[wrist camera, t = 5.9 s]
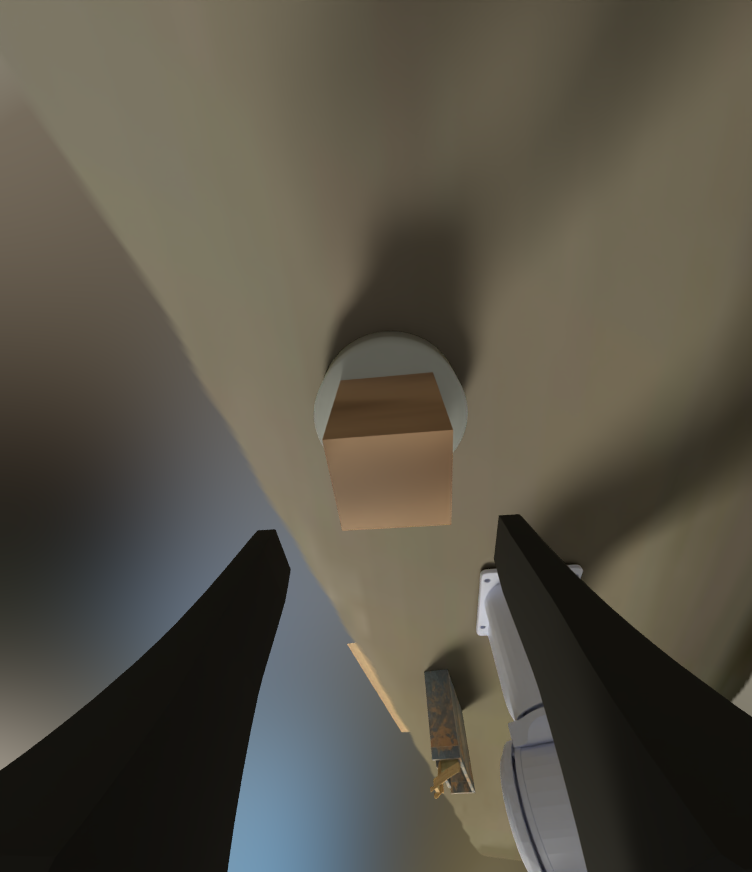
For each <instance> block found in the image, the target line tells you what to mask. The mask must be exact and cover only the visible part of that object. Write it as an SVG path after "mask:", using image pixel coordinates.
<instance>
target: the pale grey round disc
mask: <svg viewBox="0 0 752 872" xmlns="http://www.w3.org/2000/svg"><path fill="white" fill-rule="evenodd" d="M429 372H433V374H434V377H435V379H436V382H437V385H438V388H439V391H440V394H441V396H442V399H443V402H444V405H445V408H446V411H447V414H448V416H449V419H450V422H451V425H452V428H453V452H454V451H455V449H456V448H457V446H458V445H459V443H460V441H461V439H462V437H463V434H464V432H465V428H466V424H467V416H468V410H467V401H466V396H465V394H464V391H463V388H462V386H461V384H460V382H459V380H458V378H457V376H456V374H455V372H454V370H453V369H452V367H451V365H450V363H449V361H448V360H447V359H446V357H445V356H444V355H443V353H442V352H441V351H440V350H439V349H438V348H436V347H435V346H434V345H432V344H431V343H430V342H428V341H426V340H424V339H423V338H421V337H418V336H415V335H413V334H409V333H405V332H397V331H383V332H377V333H372V334H369V335H366V336H363V337H361V338H359V339H357V340H355V341H353V342H352V343H350V344H349V345H347V346H346V347H345V348H344V349H342V350H341V351H340V352H339V353H338V355H337V356H336V357H335V358H334V359H333V361H332V363H331V364H330V366H329V368H328V370H327V372H326V374H325V377H324V379H323V382H322V384H321V386H320V389H319V391H318V393H317V397H316V400H315V406H314V422H315V428H316V431H317V434H318V437H319V439H320V441H321V443H322V445H323V441H322V439H323V435H324V432H325V429H326V426H327V422H328V419H329V416H330V413H331V409H332V406H333V403H334V400H335V396H336V393H337V390H338V387H339V383H340V380H352V379H363V378H374V377H385V376H396V375H407V374H418V373H429ZM323 447H324V446H323Z"/></svg>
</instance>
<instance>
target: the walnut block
mask: <svg viewBox="0 0 752 872" xmlns="http://www.w3.org/2000/svg"><path fill="white" fill-rule="evenodd" d="M322 441H323V446H324V450H325V455H326V459H327V464H328V468H329V473H330V477H331V482H332V486H333V491H334V495H335V500H336V504H337V509H338V513H339V518H340V522H341V527H342V531H345V530H363V529H382V528H400V527H418V526H436V525H451V509H452V463H453V428H452V425H451V422H450V419H449V416H448V414H447V411H446V408H445V405H444V402H443V399H442V396H441V394H440V391H439V388H438V385H437V382H436V379H435V377H434V374H433V372H429V373H418V374H407V375H396V376H385V377H374V378H363V379H352V380H340V383H339V387H338V390H337V393H336V396H335V400H334V403H333V406H332V409H331V413H330V416H329V419H328V422H327V426H326V429H325V432H324V435H323V439H322Z"/></svg>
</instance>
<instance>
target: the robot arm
mask: <svg viewBox="0 0 752 872" xmlns="http://www.w3.org/2000/svg"><path fill="white" fill-rule="evenodd" d="M494 561H495V565H496V569H485V570H483V571H482V572H481V573H480V585H479V598H478V611H477V624H476V631H477V634H478V635H481V636H484V635H488V637H489V641H490V645H491V649H492V652H493V656H494V660H495V664H496V668H497V672H498V676H499V679H500V683H501V687H502V691H503V695H504V699H505V702H506V705H507V708H508V710H509V712H510V714H511V716H512V718H513V719H514V722H510V723H508V727H509V731H510V735H511V739H512V741H508V742H506V743H505V745H504V749H503V754H502V757H501V763H500V776H501V785H502V792H503V797H504V802H505V807H506V811H507V815H508V819H509V823H510V826H511V830H512V833H513V836H514V839H515V842H516V845H517V848H518V851H519V853H520V856H521V858H522V860H523V862H524V865H525V867H526V869H527V871H528V872H752V717H751V716H750V715H748V714H747V713H745V712H744V711H742V710H741V709H740V708H738V707H737V706H735V705H734V704H733V703H731V702H730V701H729V700H727V699H726V698H725V697H723V696H722V695H720V694H719V693H718V692H716V691H715V690H714V689H712V688H711V687H710V686H708V685H707V684H706V683H704V682H703V681H701V680H700V679H699V678H697V677H696V676H695V675H693V674H692V673H691V672H689V671H688V670H687V669H685V668H684V667H682V666H681V665H680V664H679V663H677V662H676V661H675V660H673V659H672V658H671V657H670V656H668V655H667V654H666V653H665V652H663V651H662V650H661V649H660V648H658V647H657V646H656V645H655V644H653V643H652V642H651V641H650V640H648V639H647V638H646V637H645V636H644V635H642V634H641V633H640V632H639V631H638V630H636V629H635V628H634V627H633V626H632V625H630V624H629V623H628V622H627V621H626V620H625V619H623V618H622V617H621V616H620V615H619V614H618V613H617V612H615V611H614V610H613V609H612V608H611V607H610V606H609V605H608V604H607V603H605V602H604V601H603V600H602V599H601V598H600V597H599V596H598V595H597V594H596V593H595V592H594V591H593V590H591V589H590V588H589V587H588V586H587V585H586V584H585V583H584V582H583V581H582V580H581V576H582V573H583V569H582V568H581V566H580V565H566V564H565V563H564V562H563V561H562V560H561V559H560V558H559V557H558V556H557V555H556V554H555V553H554V551H553V550H552V549H551V548H550V547H549V546H548V545H547V544H546V543H545V542H544V541H543V540H542V539H541V537H540V536H539V535H538V534H537V533H536V532H535V531H534V530H533V529H532V527H531V526H530V525H529V524H528V523H527V522H526V521H525V520H524V518H523V517H522V516H520V515H519V514H516V515H500V516H499V520H498V528H497V537H496V546H495V555H494ZM289 576H290V567H289V564H288V561H287V559H286V556H285V554H284V551H283V548H282V546H281V543H280V541H279V538H278V535H277V532H276V530H274V529H273V530H258V531H257V532H256V533H255V534H254V535H253V536H252V538H251V539H250V540H249V541H248V542H247V543H246V545H245V546H244V547H243V548H242V549H241V551H240V552H239V553H238V554H237V555H236V557H235V558H234V559H233V560H232V561H231V563H230V564H229V565H228V566H227V568H226V569H225V570H224V571H223V572H222V573H221V574H220V576H219V577H218V578H217V579H216V580H215V581H214V582H213V584H212V585H211V586H210V587H209V588H208V589H207V591H206V592H205V593H204V594H203V595H202V596H201V597H200V598H199V599H198V600H197V602H196V603H195V604H194V605H193V606H192V607H191V608H190V609H189V610H188V611H187V612H186V613H185V614H184V616H183V617H182V618H181V619H180V620H179V621H178V622H177V623H176V624H175V625H174V626H173V627H172V628H171V629H170V630H169V631H168V632H167V633H166V634H165V635H164V636H163V637H162V638H161V639H160V640H159V641H158V642H157V643H156V644H155V645H154V646H152V648H150V649H149V650H148V651H147V652H146V653H145V654H144V655H143V656H142V657H141V658H140V659H139V660H138V661H136V662H135V663H134V664H133V665H132V666H131V667H130V668H129V669H127V670H126V671H125V672H124V673H123V674H122V675H120V676H119V677H118V678H117V679H116V680H115V681H114V682H112V683H111V684H110V685H109V686H108V687H107V688H105V689H104V690H103V691H102V692H101V693H100V694H99V695H97V696H96V697H95V698H94V699H93V700H91V701H90V702H89V703H88V704H87V705H85V706H84V707H83V708H82V709H80V710H79V711H78V712H77V713H76V714H74V715H73V716H72V717H71V718H69V719H68V720H67V721H65V722H64V723H63V724H62V725H60V726H59V727H58V728H57V729H55V730H54V731H53V732H51V733H50V734H49V735H48V736H46V737H45V738H44V739H42V740H41V741H40V742H38V743H37V744H36V745H34V746H33V747H32V748H31V749H29V750H28V751H27V752H26V753H24V754H23V755H21V756H20V757H18V758H17V759H16V760H14V761H13V762H11V763H10V764H9V765H8V766H6V767H5V768H3V769H2V770H0V872H227V870H228V863H229V856H230V849H231V842H232V836H233V829H234V822H235V816H236V810H237V804H238V798H239V792H240V786H241V780H242V774H243V769H244V764H245V758H246V753H247V747H248V742H249V736H250V731H251V727H252V722H253V717H254V713H255V708H256V703H257V698H258V694H259V690H260V686H261V682H262V678H263V675H264V671H265V667H266V664H267V661H268V658H269V654H270V651H271V647H272V644H273V641H274V637H275V634H276V631H277V628H278V624H279V620H280V617H281V614H282V610H283V607H284V603H285V599H286V594H287V588H288V582H289Z"/></svg>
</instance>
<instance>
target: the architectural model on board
mask: <svg viewBox="0 0 752 872" xmlns="http://www.w3.org/2000/svg"><path fill="white" fill-rule="evenodd" d="M347 645H348V646H349V648H350V650H351V651H352V653H353V655H354V656H355V658H356V659H357V661H358V663H359V664H360V666H361V668H362V669H363V671H364V672H365V674H366V676H367V677H368V679H369V680H370V682H371V684H372V685H373V687H374V688H375V690H376V692H377V693H378V695H379V697H380V698H381V700H382V701H383V703H384V705H385V706H386V708H387V709H388V711H389V713H390V714H391V716H392V717H393V719H394V721H395V722H396V724H397V726H398V727H399V729H400V730H401V732H409V731H408V729H407V728H406V726H405V725H404V723H403V722H402V721H401V720H400V718H399V716H398V715H397V714H396V712H395V710H394V708H393V705H392V702H391V700H390V699H389V697H388V695H387V694H386V692H385V691H384V690H383V688H382V686H381V685H380V683H379V681H378V678H377V676H376V673H375V672H374V669H373V667H372V666H371V665H370V663H369V662H368V660H367V658H366V657H365V655H364V654H363V653H362V652H361V650H360V649H359V648H358V646H357V644H356V643H349V644H347ZM424 673H425V684H426V695H427V706H428V717H429V728H430V739H431V750H432V760H433V761H435V760H436V765H437V768H438V776H437V777H436V778H434V786H433V787H430V789H431V792H432V791H433V790H435V791H436V792H437V793H434V797H435V799H436V798H438V797H439V796H440V795H441V793H444V788H443V783H444V782H446V784H447V786H448V788H451V794H463V793H475V788H474V782H473V776H472V770H471V763H470V757H469V751H468V745H467V739H466V733H465V727H464V720H463V714H462V710H461V707H460V704H459V701H458V698H457V695H456V692H455V690H454V687H453V684H452V681H451V678H450V675H449V672H448V670H447V669H444V670H435V671H426V672H424Z"/></svg>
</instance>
